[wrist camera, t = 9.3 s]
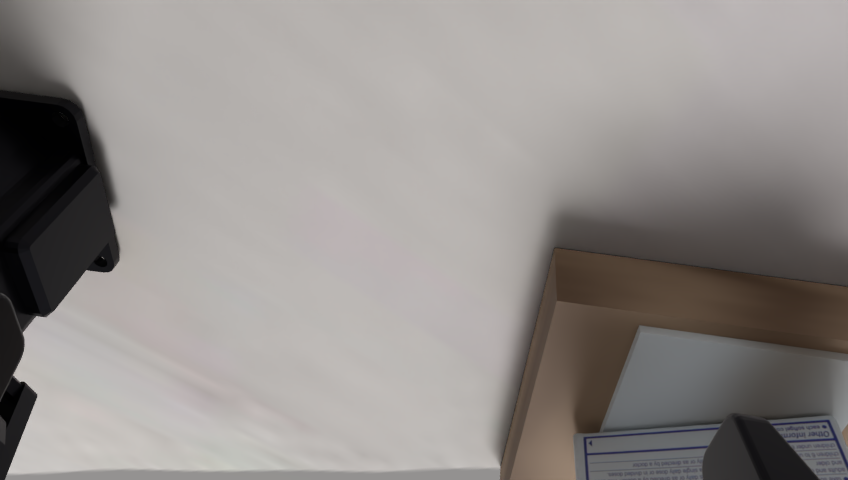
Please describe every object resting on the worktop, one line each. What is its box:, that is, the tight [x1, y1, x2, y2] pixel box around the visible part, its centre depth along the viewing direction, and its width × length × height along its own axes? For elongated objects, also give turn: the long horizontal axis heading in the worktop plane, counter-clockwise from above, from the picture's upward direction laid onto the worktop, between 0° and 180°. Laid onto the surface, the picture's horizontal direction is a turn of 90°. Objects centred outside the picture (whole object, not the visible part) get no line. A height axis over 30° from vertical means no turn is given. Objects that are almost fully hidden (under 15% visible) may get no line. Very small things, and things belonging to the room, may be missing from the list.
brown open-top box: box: [500, 248, 848, 480], centre depth 24 cm, size 12×12×3 cm
